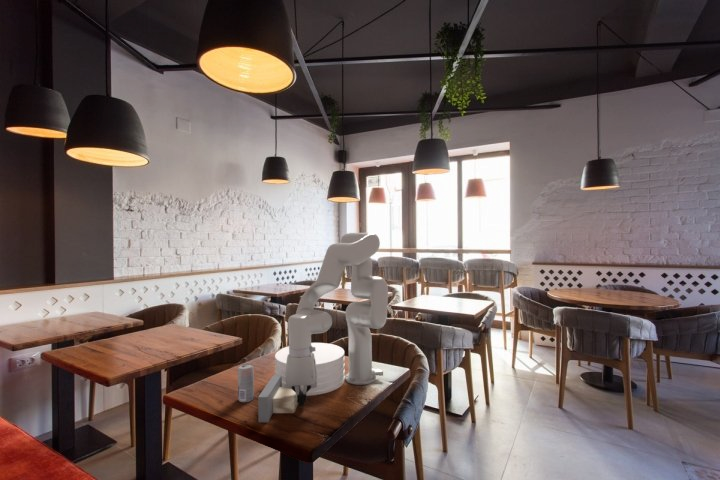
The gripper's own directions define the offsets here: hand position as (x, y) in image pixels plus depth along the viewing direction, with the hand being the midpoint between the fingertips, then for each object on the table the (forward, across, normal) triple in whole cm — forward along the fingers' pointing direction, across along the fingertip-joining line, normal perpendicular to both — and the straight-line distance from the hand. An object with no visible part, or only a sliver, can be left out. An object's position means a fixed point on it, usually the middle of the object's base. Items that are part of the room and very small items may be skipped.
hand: (302, 404), depth 121 cm
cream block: (+2, +6, -1) cm, 6 cm away
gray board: (+1, +11, 0) cm, 11 cm away
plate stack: (+2, 0, -24) cm, 24 cm away
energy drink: (+1, +21, -7) cm, 23 cm away
